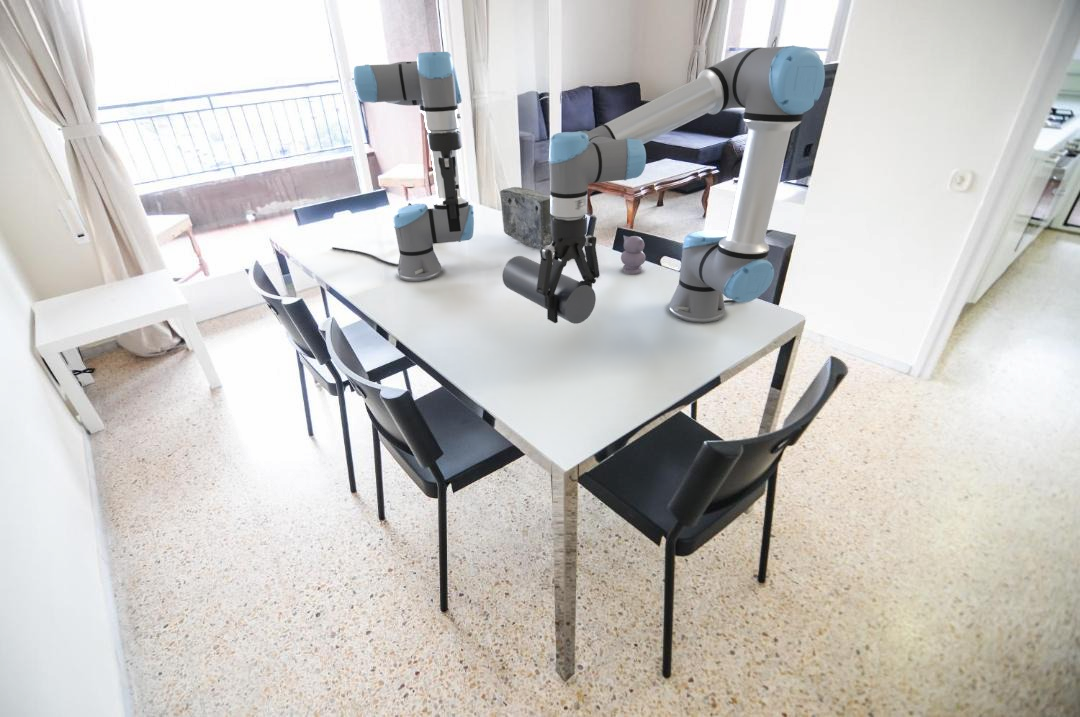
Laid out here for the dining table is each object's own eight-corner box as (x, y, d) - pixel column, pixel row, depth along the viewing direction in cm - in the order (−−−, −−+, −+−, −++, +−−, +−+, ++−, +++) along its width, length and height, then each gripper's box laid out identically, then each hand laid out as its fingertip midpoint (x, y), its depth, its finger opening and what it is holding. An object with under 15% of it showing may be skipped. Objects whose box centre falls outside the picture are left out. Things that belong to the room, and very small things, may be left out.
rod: (503, 293, 125) (501, 260, 121) (531, 284, 130) (530, 252, 125) (565, 328, 109) (565, 291, 104) (595, 317, 113) (596, 280, 108)
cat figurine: (649, 270, 171) (652, 236, 165) (636, 276, 167) (638, 242, 160) (628, 264, 176) (630, 231, 170) (615, 271, 172) (617, 237, 165)
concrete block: (559, 249, 192) (558, 197, 182) (540, 255, 188) (538, 201, 178) (520, 233, 211) (518, 185, 200) (503, 238, 207) (499, 188, 196)
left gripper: (461, 137, 103) (471, 237, 114) (458, 123, 124) (468, 209, 136) (424, 139, 102) (439, 239, 114) (428, 125, 124) (440, 211, 135)
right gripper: (537, 230, 94) (541, 335, 105) (619, 209, 104) (614, 306, 116) (515, 222, 99) (520, 322, 110) (595, 202, 110) (592, 296, 121)
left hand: (454, 223), depth 125 cm, fingers open, 13 cm apart
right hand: (568, 314), depth 113 cm, fingers closed on rod, 9 cm apart
